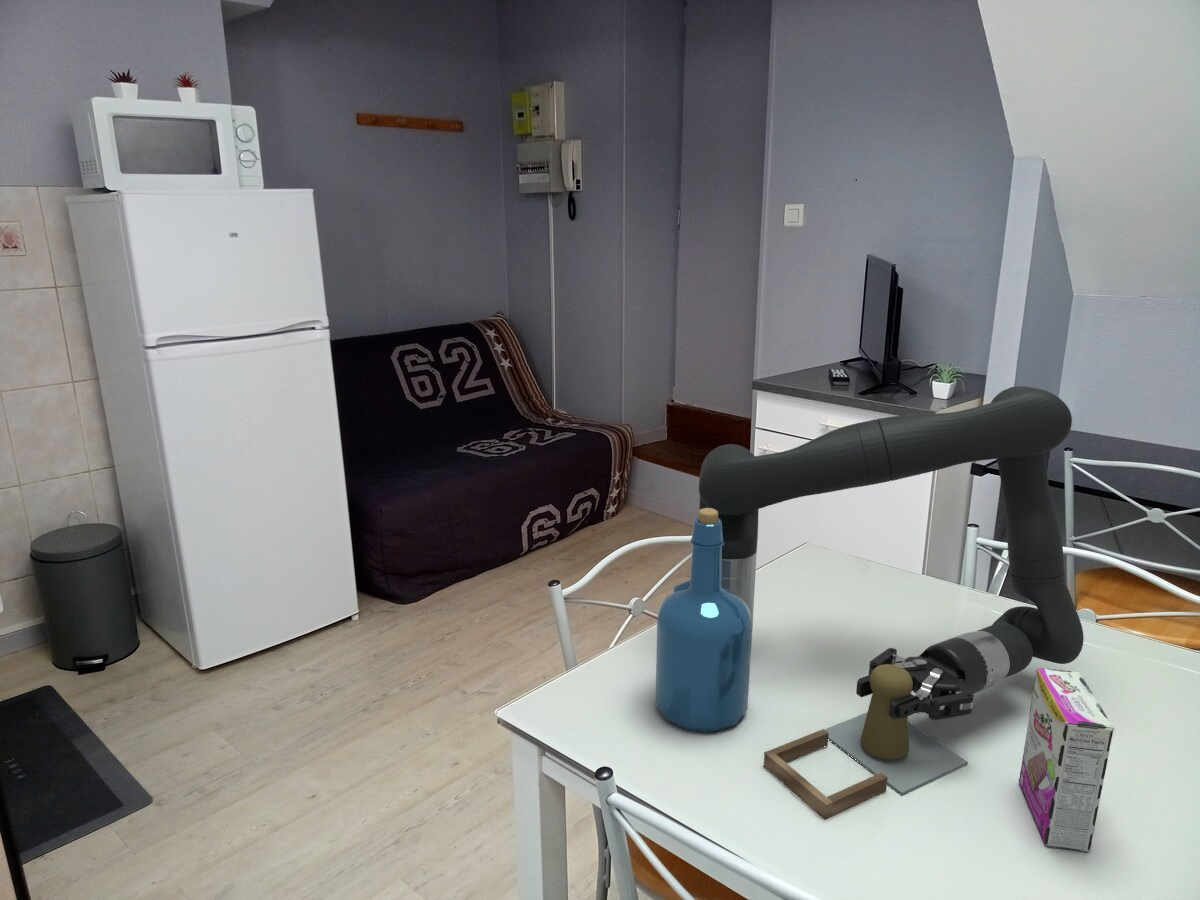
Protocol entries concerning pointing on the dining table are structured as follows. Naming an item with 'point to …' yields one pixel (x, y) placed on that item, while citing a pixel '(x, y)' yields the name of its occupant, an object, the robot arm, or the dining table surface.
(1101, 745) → the candy bar box
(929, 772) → the slate mat
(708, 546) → the wine bottle
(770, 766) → the wooden u-shaped frame
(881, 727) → the cork
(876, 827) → the dining table surface
